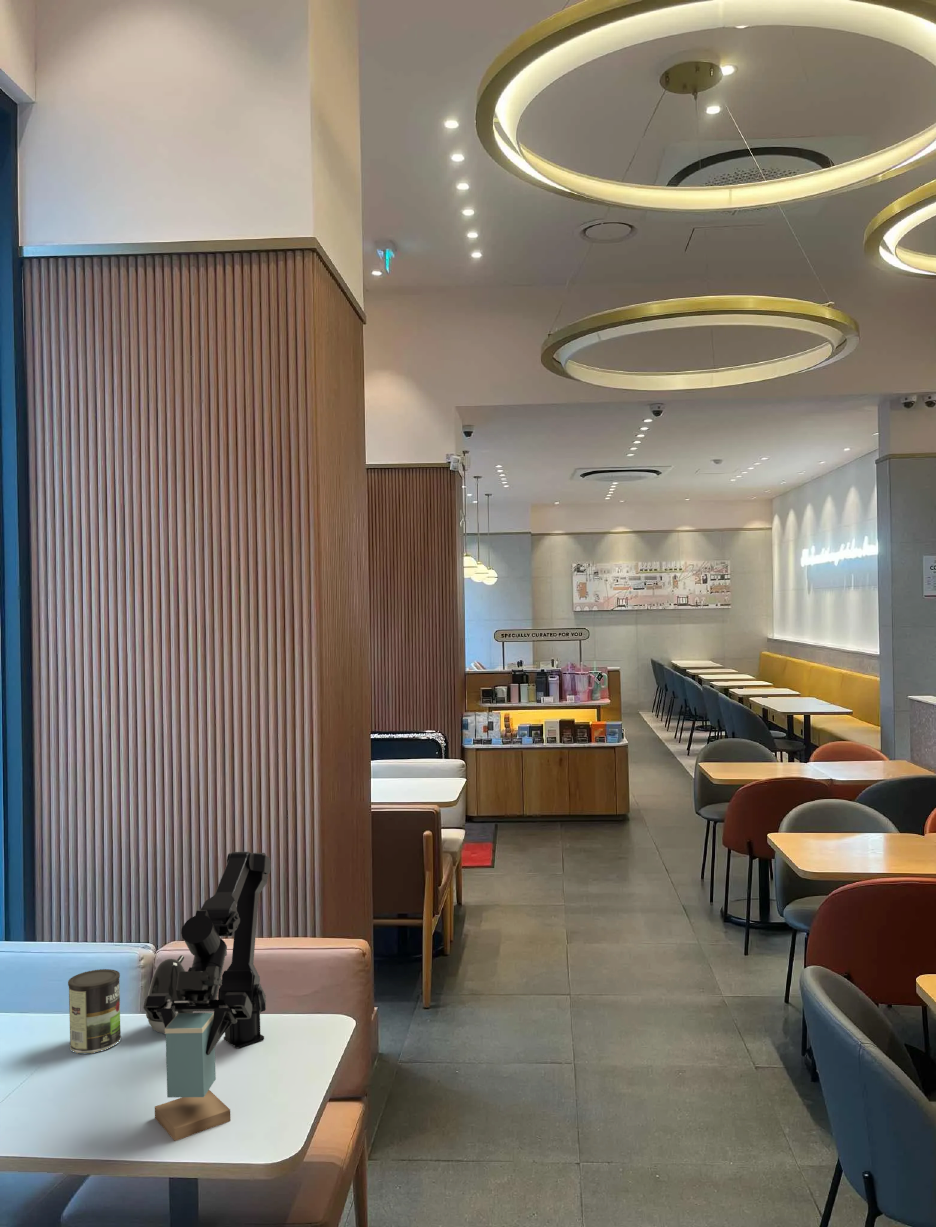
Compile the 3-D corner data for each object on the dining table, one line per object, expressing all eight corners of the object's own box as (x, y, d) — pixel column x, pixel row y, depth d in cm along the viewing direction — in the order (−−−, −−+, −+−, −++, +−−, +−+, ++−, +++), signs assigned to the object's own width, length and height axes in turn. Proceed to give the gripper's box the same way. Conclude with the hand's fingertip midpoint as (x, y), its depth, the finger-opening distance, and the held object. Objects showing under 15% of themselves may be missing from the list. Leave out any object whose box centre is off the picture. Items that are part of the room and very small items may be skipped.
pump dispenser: (204, 1020, 209) (202, 952, 209) (177, 1040, 199) (176, 969, 199) (164, 1017, 212) (163, 950, 212) (136, 1036, 202) (135, 965, 202)
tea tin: (180, 1079, 170) (178, 1013, 170) (216, 1079, 169) (214, 1012, 169) (166, 1098, 163) (164, 1029, 163) (204, 1097, 162) (202, 1028, 163)
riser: (208, 1102, 173) (208, 1089, 173) (230, 1124, 165) (230, 1109, 165) (154, 1120, 167) (154, 1106, 167) (175, 1144, 159) (174, 1129, 159)
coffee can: (128, 1033, 204) (127, 968, 204) (109, 1054, 194) (108, 985, 194) (82, 1034, 204) (80, 969, 204) (60, 1055, 194) (59, 987, 194)
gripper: (145, 950, 171) (122, 1037, 160) (246, 948, 170) (229, 1035, 159) (163, 977, 179) (141, 1061, 167) (259, 975, 178) (244, 1060, 166)
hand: (188, 1054), depth 165 cm, fingers closed on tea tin, 6 cm apart
